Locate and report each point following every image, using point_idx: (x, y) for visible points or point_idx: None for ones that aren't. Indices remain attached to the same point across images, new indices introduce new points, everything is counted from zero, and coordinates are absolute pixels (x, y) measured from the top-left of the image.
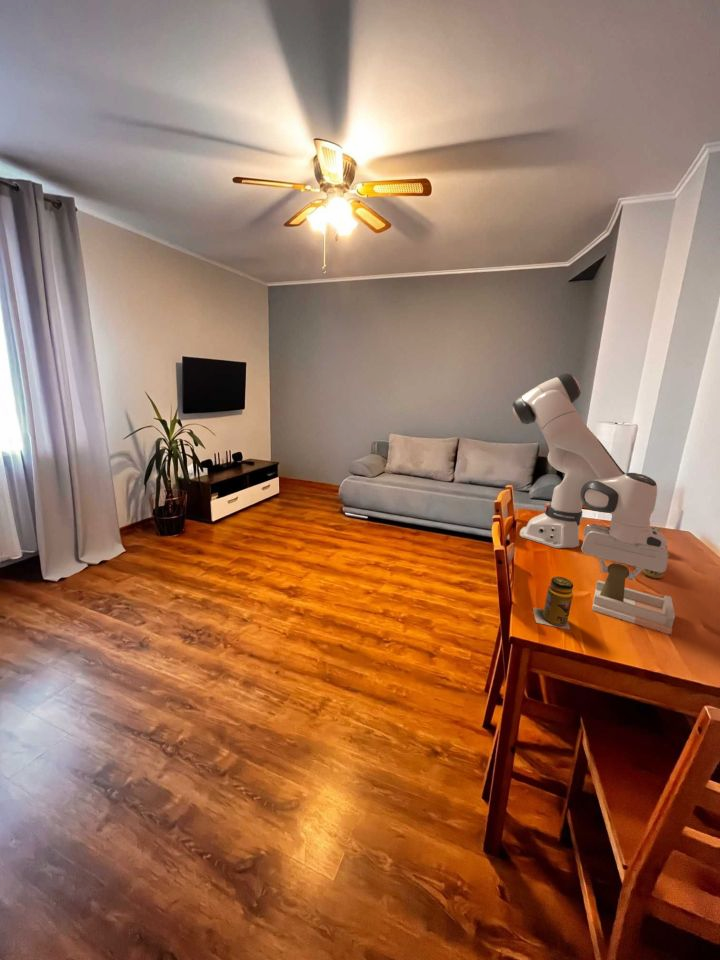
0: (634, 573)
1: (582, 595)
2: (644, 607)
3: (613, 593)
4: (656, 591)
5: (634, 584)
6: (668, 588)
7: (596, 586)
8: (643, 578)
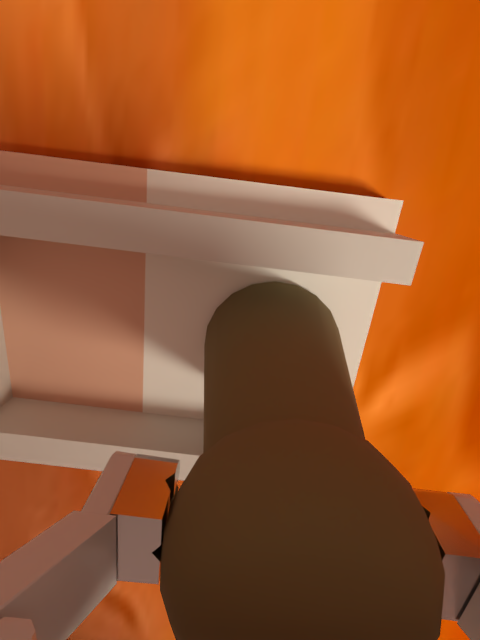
0: (83, 541)
1: (408, 361)
2: (95, 357)
3: (286, 319)
4: None
5: None
6: None
7: None
8: (105, 635)
